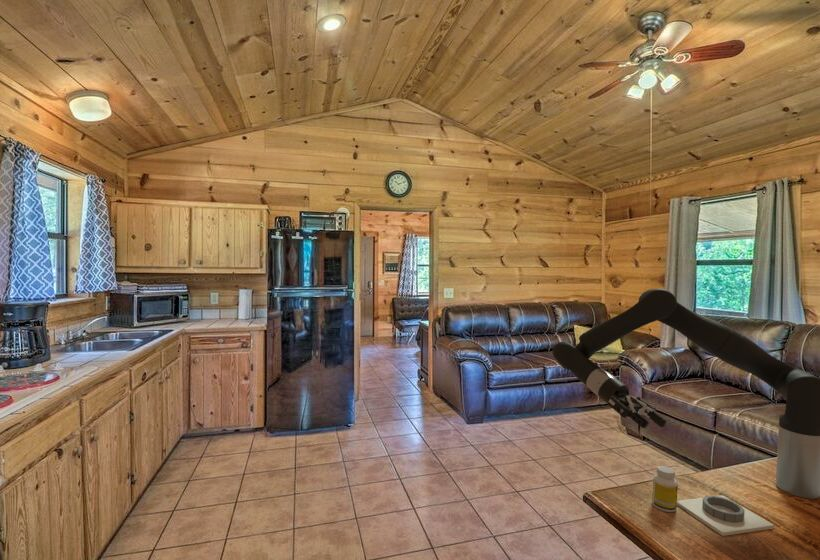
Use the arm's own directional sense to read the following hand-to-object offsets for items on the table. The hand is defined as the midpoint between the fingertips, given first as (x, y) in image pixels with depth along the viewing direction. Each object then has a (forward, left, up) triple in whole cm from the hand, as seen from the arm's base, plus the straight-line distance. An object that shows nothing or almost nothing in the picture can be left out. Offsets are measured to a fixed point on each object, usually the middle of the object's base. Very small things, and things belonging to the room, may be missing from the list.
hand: (655, 425), depth 110 cm
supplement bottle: (0, +4, -20) cm, 20 cm away
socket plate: (-12, +10, -20) cm, 25 cm away
